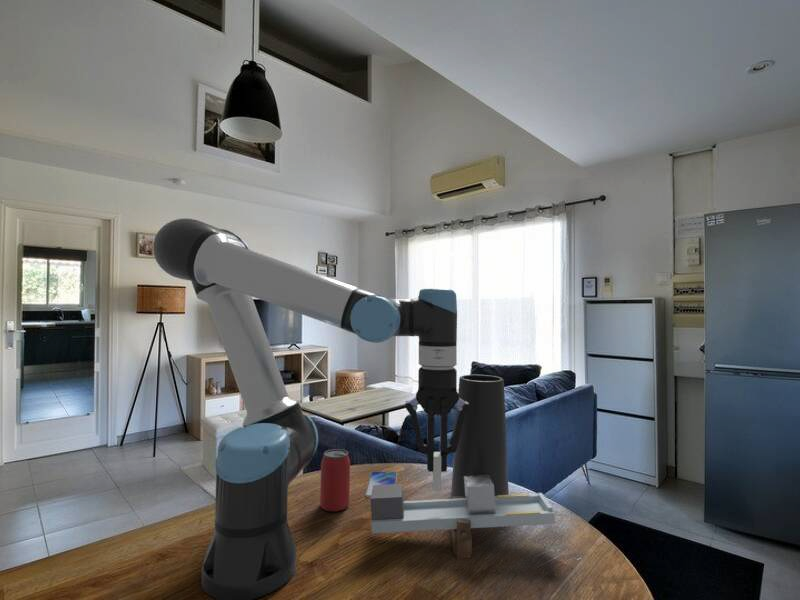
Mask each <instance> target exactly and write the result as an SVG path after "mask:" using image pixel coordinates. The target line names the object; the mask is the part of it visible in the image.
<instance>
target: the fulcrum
mask: <svg viewBox="0 0 800 600" xmlns="http://www.w3.org/2000/svg"><path fill="white" fill-rule="evenodd" d="M457 498H464V497H462V496H452V498H451V499H457ZM449 534H450V538H451V544H452V549H453V550H452V551H453V555H455V556H456V559H471V556H472V555H473V554H472V553H473V549H472V548H473V532H472V528H471V522H470V520H457V529H449Z"/></svg>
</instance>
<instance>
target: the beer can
mask: <svg viewBox="0 0 800 600" xmlns="http://www.w3.org/2000/svg"><path fill="white" fill-rule="evenodd" d="M350 480H351V459H350V457H349V451H347V450H346V449H341V448H333V449H328V450H325V452H323V456H322V459H321V462H320V490H319V493H320V494H319V500H320V501H319V505H320V507H321V508H322V509H323V510H325V511H327V512H332V513H334V512H341V511H343V510H345V509H347V507H348V506H349V504H350V493H351V491H350V490H351V489H350V485H351V481H350Z"/></svg>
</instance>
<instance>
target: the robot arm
mask: <svg viewBox="0 0 800 600" xmlns="http://www.w3.org/2000/svg"><path fill="white" fill-rule="evenodd" d="M152 251H153V252H152V253H153V256H154V258H155V260H156V263H157V264H158V266H159V267H160V268H161V269H162V270H163V271H164V272H165V273H166V274H168V275H170V276H172V277H173V278H176V279H180V280H184V281H190V282H191V284H192V287H193V290H194V292H195V296H196V298H197V299H198V300H199V301H202V302H204V303H206V304H207V305H208V308H209V310H210V313H211V315H212V318H213V322H214V324H215V327H216V329H217V333H218V336H219V338H220V341H221V344H222V347H223V350H224V351H225V355H226V357H227V359H228V360H227V361H228V363H229V365H230V369H231V371H232V374H233V376H234V380H235V384H236V385H237V387H238V390H239V394H240V397H241V399H242V402H243V404H244V408H245V410H246V416H245V417H244V420H243V422H242V426H241V427H238V428H236V429H233V430H231V431H230V432H228V433H226V435H224V436H223V438H221V440H220V442H219V444H218V446H217V453H216V458H215V465H214V467H215V503H214V507H215V509H214V510H215V511H214V532H213V533H212V537H211V540H210V543H209V545H208V548H207V551H206V554H205V557H204V560H203V562H202V567H201V586H202V589H203V591H204V592H205V593H206V594H207V595H208V596H210V597H212V598H214V599H215V600H255V599H258V598H261V597H264V596H267V595H270V594H271V593H273V592H274V591H277V590H279V588H281V587H283V585H285V584H286V583H287V582H288V581H290V580H291V578H292V577H293V575H294V573H295V571H296V568H297V549H296V548H297V547H296V544H295V540H294V538H293V535H292V533H291V529H290V526H289V522H288V497H289V496H288V493H289V492H288V491H289V490H288V489H289V486H290V484H291V483H292V482H293V481H294V480H295V479H296V477H297V476H298V475H299V474H300V473H301V472H302V471H303V470H304V469H305V468H306V467H307V466H308V465H309V464H310V462H311V461H312V459H313V457H314V455H315V454H316V451H317V448H318V444H319V431H318V428H317V426H316V424H315V421H314V420H312V418H311V417H310V416H309V415H307V414H305V413H303V410H302V407H301V405H300V402H299V400H297V399H295V398H293V397H290V395H289V394H288V391H287V389H286V386H285V383H284V380H283V377H282V375H281V372H280V370H279V367H278V364H277V361H276V359H275V356H274V353H273V351H272V348H271V345H270V343H269V340H268V339H269V338H268V336H267V334H266V332H265V329H264V326H263V323H262V320H261V318H260V315H259V312H258V310H257V307H256V304H255V301H254V299H253V298H256V299H258V300H261V301H264V302H267V303H270V304H272V305H275V306H278V307H281V308H283V309H286V310H289V311H292V312H295V313H298V314H300V315H303V316H305V317H308V318H312V319H313V320H317V321H320V322H323V323H325V324H328V325H331V326H333V327H336V328H339V329H341V330H344V331H347V332H349V333H352V334H354V335H356V336H358V337H359V338H360V339H361V340H362V341H363V340H364V341H365V342H369V343H373V344H374V343H375V344H376V343H382V342H385V341H387V340H389V339H391V338H393V337H418V365H419V366H420V367H419V368H418V376H417V377H418V381H417V382H418V384H417V385H418V388H417V391H416V392H415V393H416V394H415V397H413V398H411V399H409V400H406V401H405V403H404V404H405V405H404V407H405V409H406V411H407V412H408V414H409V416H410V419H411V420H410V421H411V423H412V427H413V433H414V436H415V441H416V444H417V449H418V452H419V453H424V454H426V469H427V471H428V472H429V473H431V472H432V489H433V492H437V491H438V492H439V491H440V492H441V491H442V473H446V472H447V469H448V455H450V454H451V453H452V454H454V453H455V452H456V450H457V446H458V442H459V438H460V434H461V430H462V426H463V422H464V418H465V415H466V414H467V412H468V411H469V409H470V405H469V403H468V402H467V401H463V400H462V399H460V398H459V394H458V390H457V388H458V387H457V382H458V381H457V380H458V379H457V376H458V374H457V373H458V372H457V369H456V368H455V367H456V366H457V362H458V361H457V352H458V351H457V347H458V345H457V341H458V339H457V338H458V337H457V335H458V304H457V303H458V302H457V294H456V292H455V290H453V289H451V288H422V289H420V290H419V291H418V297H417V298H389V297H385V296H383V295H380V294H377V293H376V294H375V293H373V292H370V291H368V290H366V289H361V288H358V287H356V286H353V285H350V284H347V283H345V282H341V281H339V280H336V279H334V278H330V277H327V276H325V275H322V274H319V273H317V272H312V271H311V270H308V269H304V268H302V267H299V266H296V265H293V264H290V263H288V262H285V261H282V260H279V259H276V258H273V257H270V256H267V255H264V254H263V253H259V252H257V251H253V250H252V249H251V248H250V245H249V244H248V243H247V242H246V241H245V240H244V238H242V237H240V236H239V235H238V234H236V233H234V232H232V231H229V230H227V229H223V228H222V229H221V228H219V227H216V226H214V225H211V224H208V223H205V222H203V221H201V220H197V219H193V218H177V219H174V220H171V221H169V222H167V223H165V224H164V225H163V226H162V227H161V228H160V229H159V230H158V231H157V233H156V234H155V237H154V240H153V245H152ZM418 404H419V405H420V407H421V408H422V409H423V411H424V412H425V413H426V415H427V418H426V420H427V423H426V430H427V431H426V436H427V437H426V443H424V439H423V434H422V433H423V432H422V430H421V426H420V422H419V416H418V412H417V410H418V407H419V406H418ZM455 406H456V410H457V409H458V412H457V411H456V416H455V419H454V423H453V428H452V432H451V436H450V440H449V444H448V418H449V417H448V415H449V414H450V413H451V411H452V409H454V407H455ZM437 415H438V416H439V417H440V419H439V449H440V451H435V416H437Z"/></svg>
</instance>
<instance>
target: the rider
mask: <svg viewBox="0 0 800 600" xmlns="http://www.w3.org/2000/svg"><path fill="white" fill-rule="evenodd" d="M464 484H465V499H466V508H467V512H468V515H483V514H496V509H495V495H494V485H493V483H492V481H491V478H490V476H489V475H478V476H464Z"/></svg>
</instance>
